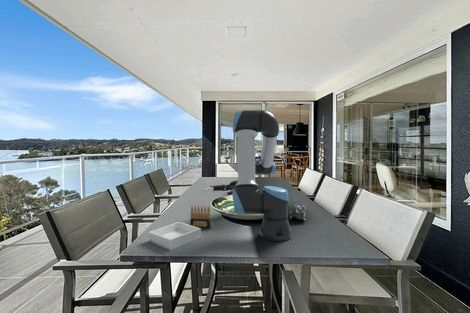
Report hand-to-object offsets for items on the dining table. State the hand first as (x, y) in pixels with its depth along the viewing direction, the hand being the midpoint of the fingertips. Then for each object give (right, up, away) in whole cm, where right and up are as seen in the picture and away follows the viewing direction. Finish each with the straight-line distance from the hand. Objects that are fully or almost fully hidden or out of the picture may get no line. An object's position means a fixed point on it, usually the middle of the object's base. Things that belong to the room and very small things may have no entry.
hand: (213, 192), depth 140 cm
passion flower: (+47, -16, +5) cm, 50 cm away
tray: (-16, -18, -23) cm, 33 cm away
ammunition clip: (-6, -17, -8) cm, 20 cm away
